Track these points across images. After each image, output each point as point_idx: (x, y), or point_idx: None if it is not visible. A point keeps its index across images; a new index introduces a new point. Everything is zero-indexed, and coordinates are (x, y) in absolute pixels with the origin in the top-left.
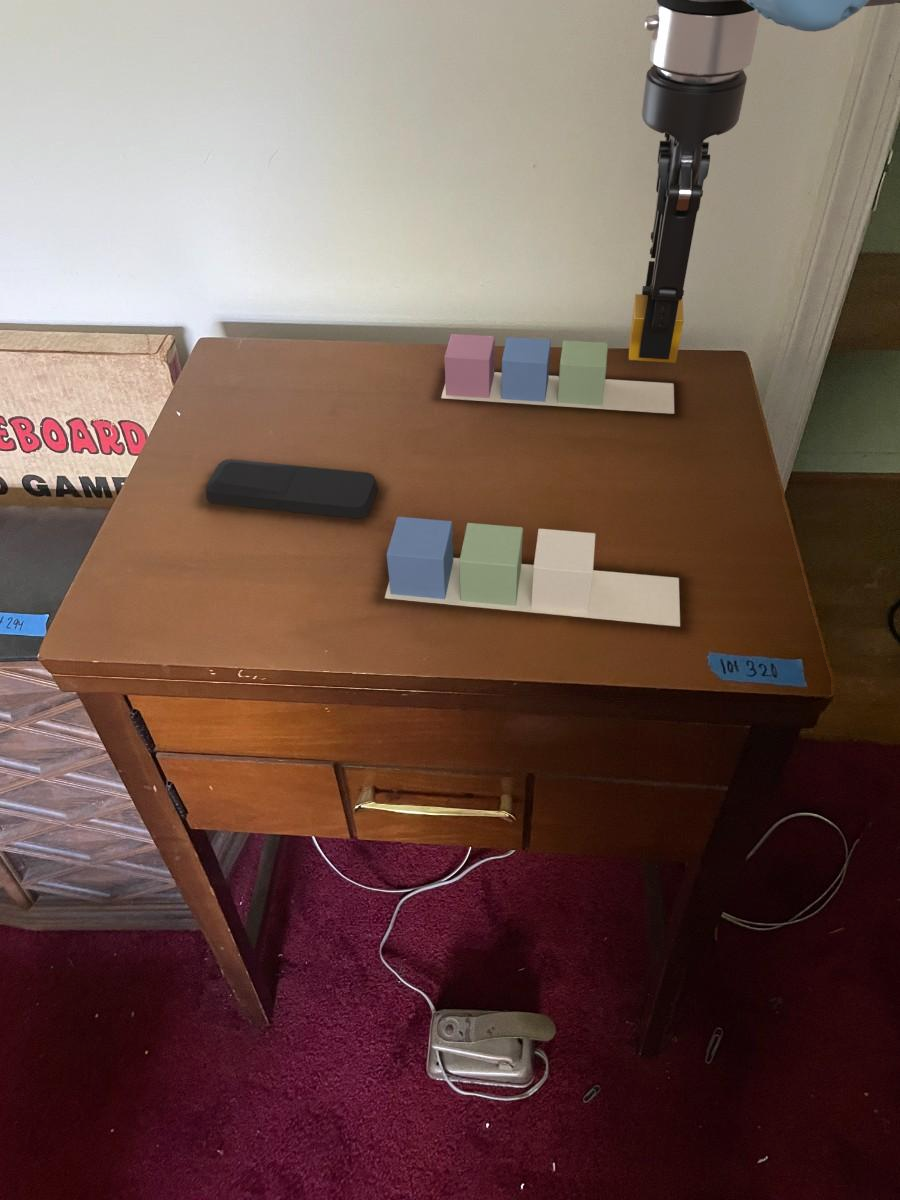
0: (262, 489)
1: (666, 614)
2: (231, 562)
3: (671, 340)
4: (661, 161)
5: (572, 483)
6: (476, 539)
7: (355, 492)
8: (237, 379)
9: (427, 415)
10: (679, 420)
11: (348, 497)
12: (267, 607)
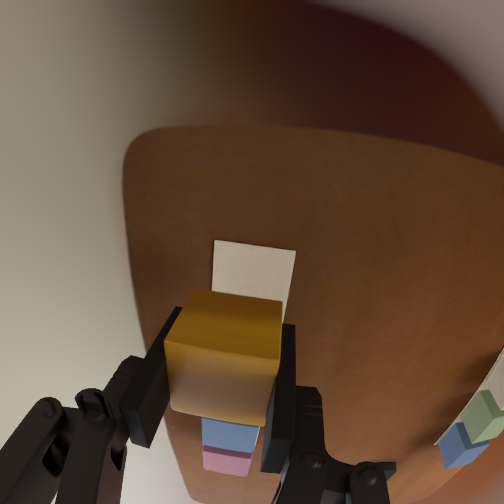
0: None
1: None
2: (404, 485)
3: (294, 351)
4: None
5: (409, 368)
6: (487, 436)
7: None
8: (234, 500)
9: None
10: (312, 245)
11: (385, 475)
12: (440, 469)
